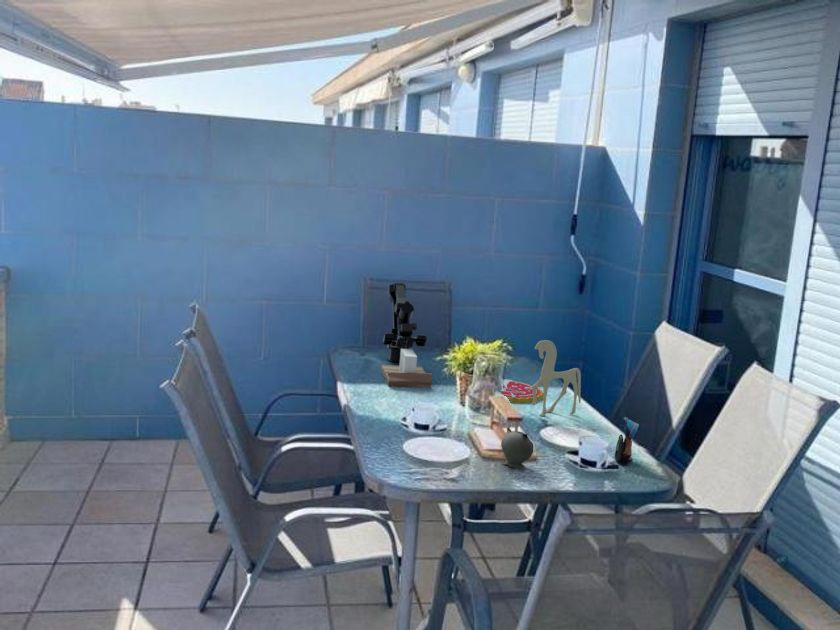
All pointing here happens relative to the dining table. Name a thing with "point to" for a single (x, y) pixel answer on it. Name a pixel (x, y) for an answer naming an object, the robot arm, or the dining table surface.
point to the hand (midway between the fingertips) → (405, 355)
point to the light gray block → (407, 361)
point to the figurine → (626, 443)
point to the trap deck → (406, 377)
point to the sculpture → (554, 376)
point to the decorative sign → (519, 392)
